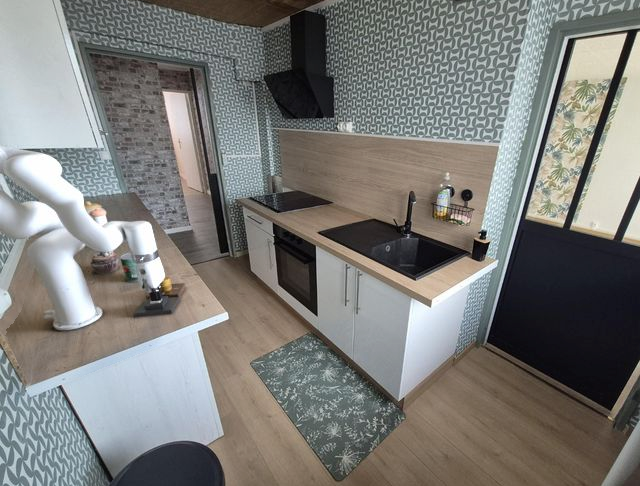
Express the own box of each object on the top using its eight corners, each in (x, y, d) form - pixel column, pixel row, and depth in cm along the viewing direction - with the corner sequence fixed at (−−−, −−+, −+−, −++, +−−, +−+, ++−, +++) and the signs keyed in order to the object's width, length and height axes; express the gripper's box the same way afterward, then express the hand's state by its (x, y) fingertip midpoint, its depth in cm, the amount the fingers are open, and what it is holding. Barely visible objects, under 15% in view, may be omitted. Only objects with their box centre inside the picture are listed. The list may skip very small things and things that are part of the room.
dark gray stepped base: (134, 317, 106) (132, 309, 104) (145, 303, 114) (143, 295, 112) (172, 313, 109) (170, 305, 107) (179, 300, 117) (178, 293, 115)
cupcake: (98, 266, 138) (92, 247, 135) (123, 264, 142) (118, 245, 138) (89, 275, 130) (82, 255, 126) (116, 273, 134) (110, 253, 130)
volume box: (147, 301, 115) (146, 296, 114) (156, 290, 123) (155, 284, 122) (179, 299, 117) (177, 293, 116) (185, 287, 125) (184, 282, 124)
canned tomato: (122, 279, 129) (115, 256, 125) (140, 272, 136) (134, 250, 132) (133, 283, 126) (127, 260, 122) (152, 275, 133) (146, 253, 129)
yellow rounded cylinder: (171, 290, 118) (169, 279, 116) (160, 292, 117) (157, 281, 115) (172, 286, 122) (169, 274, 120) (160, 288, 120) (158, 276, 118)
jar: (97, 224, 189) (88, 198, 182) (115, 226, 187) (107, 199, 181) (75, 231, 177) (66, 203, 170) (94, 233, 175) (85, 205, 169)
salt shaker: (113, 242, 165) (104, 209, 158) (97, 244, 162) (86, 210, 154) (115, 237, 171) (106, 206, 164) (98, 239, 167) (88, 207, 160)
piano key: (151, 306, 109) (149, 302, 108) (154, 302, 111) (153, 298, 111) (160, 305, 109) (159, 301, 109) (163, 301, 112) (162, 297, 111)
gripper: (149, 264, 97) (161, 310, 104) (165, 247, 111) (175, 288, 117) (122, 266, 95) (136, 312, 102) (142, 248, 109) (153, 290, 116)
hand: (157, 299), depth 110 cm, fingers closed
